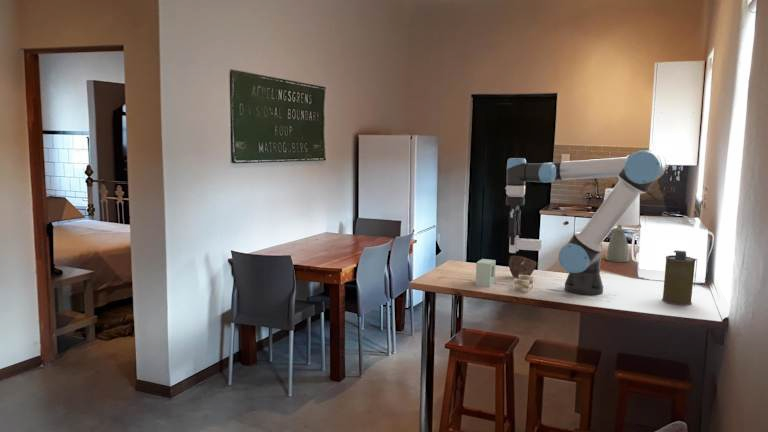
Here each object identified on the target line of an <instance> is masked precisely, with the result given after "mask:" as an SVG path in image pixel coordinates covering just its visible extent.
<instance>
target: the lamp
mask: <svg viewBox="0 0 768 432" xmlns="http://www.w3.org/2000/svg"><path fill="white" fill-rule="evenodd" d="M613 188H614V187H612V188H605V190H604V197H603V202H604V201H605V199H606V198H607V196H608V195H609V194H610V192H611V191H612V190H613ZM640 195H641V194H639V195H638V197H637V198H636V199H635V200H634V202H633V203H632V204H631V206H630V207H629V208H628V210H627V211H626V212H625V213H624V215H623V216H622V217H621V219H620V220H619V221H618V223H617V224H616V225H615V226H616V227H614V228H613V229H612V231H613V233H612V235H611V237H610V239H609V242H608V246H607V249H606V254H605V255H606V256H605V260H607V261H609V262H614V263H615V262H616V263H627V262H629V260H630V259H629V255H630V254H629V243H628V241H627V240H628V239H627V237H626V234H625V232H626V228H623V226H624V227H635V226H636V227H637V226H640V202H641V201H640Z"/></svg>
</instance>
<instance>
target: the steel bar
mask: <svg viewBox="0 0 768 432" xmlns="http://www.w3.org/2000/svg"><path fill="white" fill-rule="evenodd" d="M516 249H518V250H523V251H537V252H539V251H541V250H542V239H536V238H535V239H534V238H520V237H519V238H516Z"/></svg>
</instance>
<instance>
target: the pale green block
mask: <svg viewBox="0 0 768 432" xmlns="http://www.w3.org/2000/svg"><path fill="white" fill-rule="evenodd" d="M496 261H497V260H496V259H488V258H487V259H486V258H481V259H479V260H478V261H477V262H476V266H475V267H476V268H475V269H476V270H475V286H478V287H480V286H481V287H487V286H489V287H491V286H492V285H493V284H495V282H496V281H495V280H496ZM489 287H488V288H489Z"/></svg>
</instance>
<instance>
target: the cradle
mask: <svg viewBox="0 0 768 432" xmlns="http://www.w3.org/2000/svg"><path fill="white" fill-rule="evenodd" d="M532 288H534V275H531V276H529V275H520V274H519V276H518V278H515V279H513V291H515V292H516V291H517V292H522V293H524V292H525V293H529V291H531V290H532Z"/></svg>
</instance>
